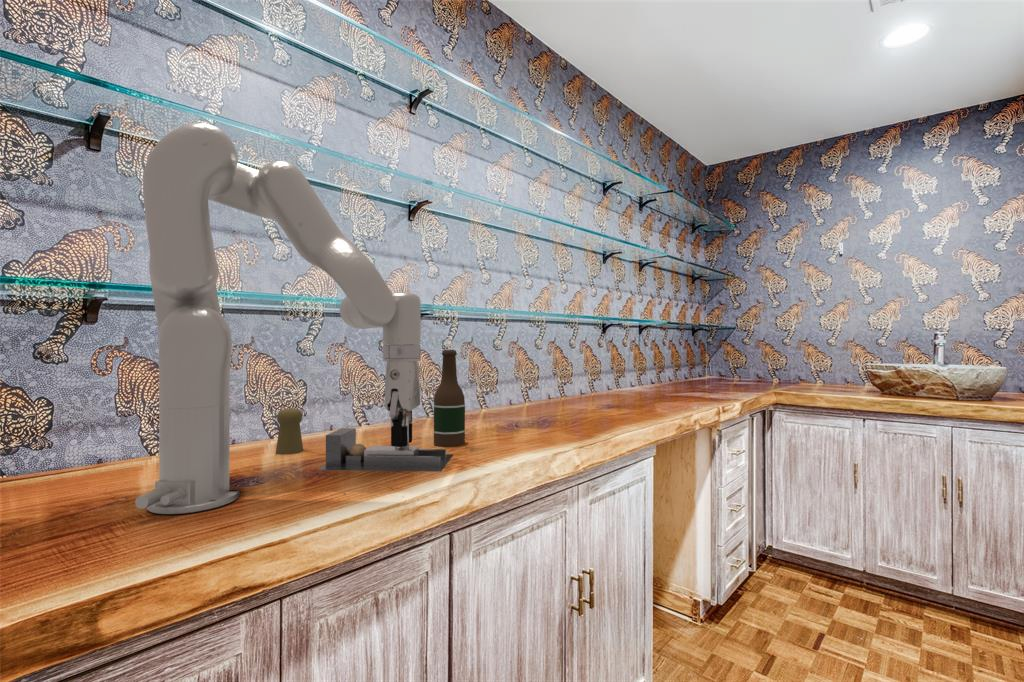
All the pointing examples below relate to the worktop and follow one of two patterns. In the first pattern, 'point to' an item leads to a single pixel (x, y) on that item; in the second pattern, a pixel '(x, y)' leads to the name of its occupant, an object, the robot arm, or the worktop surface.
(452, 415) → the beer bottle
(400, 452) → the grey and clear stand
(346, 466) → the nutcracker base
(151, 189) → the robot arm
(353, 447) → the walnut
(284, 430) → the cork
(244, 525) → the worktop surface
